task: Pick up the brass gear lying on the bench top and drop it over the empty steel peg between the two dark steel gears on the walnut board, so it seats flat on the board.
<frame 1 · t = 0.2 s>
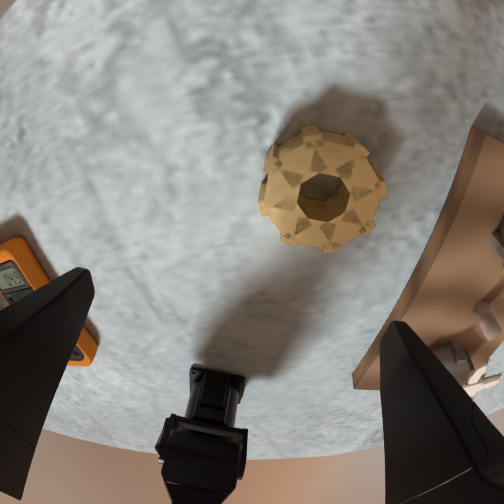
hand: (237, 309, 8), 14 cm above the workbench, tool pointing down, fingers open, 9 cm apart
gear board: (472, 292, 24), on the workbench
multimeter: (47, 298, 32), on the workbench
brass gear: (318, 179, 20), on the workbench
corner connector: (481, 371, 33), on the workbench
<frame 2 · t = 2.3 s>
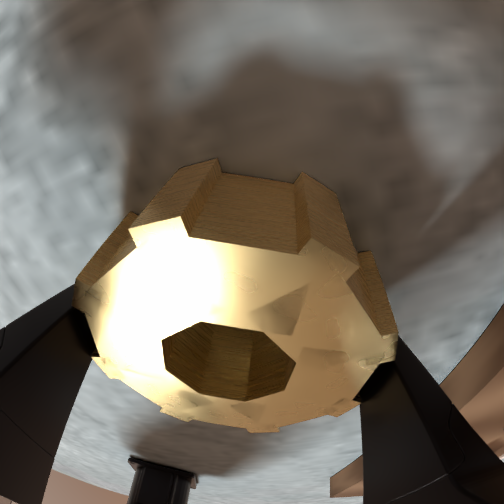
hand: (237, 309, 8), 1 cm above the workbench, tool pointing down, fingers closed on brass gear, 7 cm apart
brass gear: (241, 285, 9), on the workbench, touching gripper
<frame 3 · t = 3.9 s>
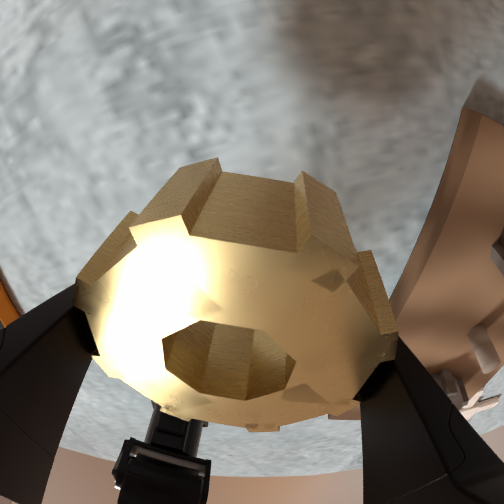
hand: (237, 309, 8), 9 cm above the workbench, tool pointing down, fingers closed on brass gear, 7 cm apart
gear board: (467, 313, 20), on the workbench
multimeter: (6, 312, 28), on the workbench
brass gear: (241, 284, 9), point 8 cm above the workbench, touching gripper
corner connector: (478, 393, 29), on the workbench
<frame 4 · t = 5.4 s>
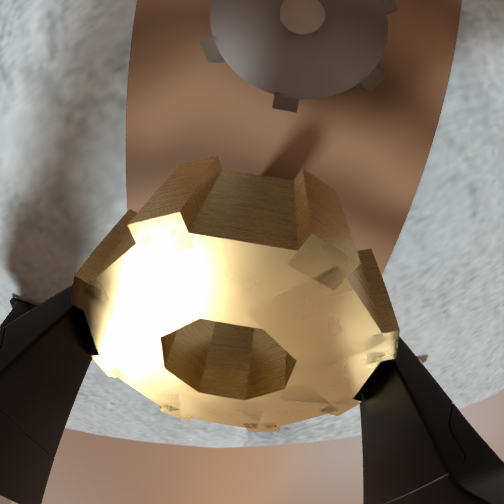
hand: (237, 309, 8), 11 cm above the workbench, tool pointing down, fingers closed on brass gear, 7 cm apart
gear board: (269, 178, 18), on the workbench
brass gear: (241, 283, 9), point 10 cm above the workbench, touching gripper
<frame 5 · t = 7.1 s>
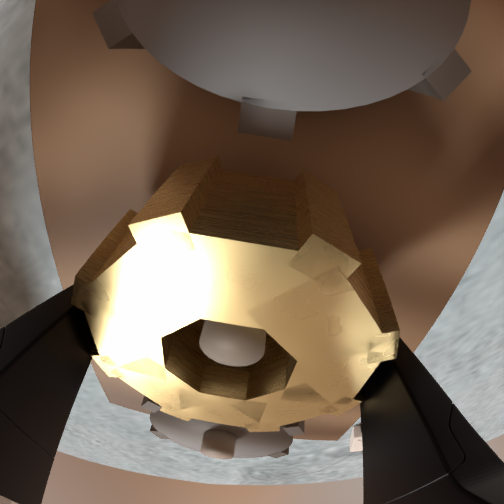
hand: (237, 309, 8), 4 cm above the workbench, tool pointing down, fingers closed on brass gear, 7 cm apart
gear board: (252, 231, 12), on the workbench
brass gear: (241, 283, 9), point 3 cm above the workbench, touching gripper
corner connector: (400, 410, 21), on the workbench
when the fingers open (4 cm above the workbench, at t = 8.4 s): brass gear stays where it is, resting on gear board.
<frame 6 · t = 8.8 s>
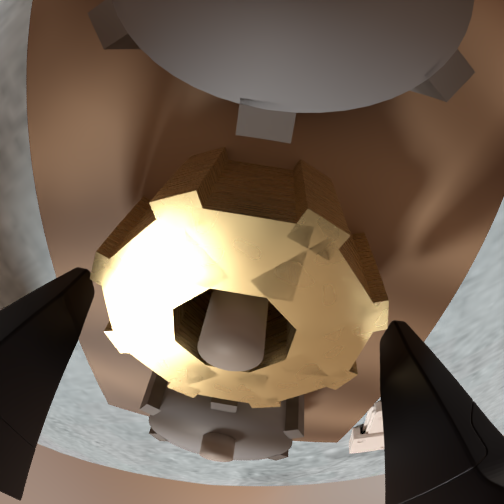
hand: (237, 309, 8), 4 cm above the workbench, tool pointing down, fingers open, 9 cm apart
gear board: (252, 234, 12), on the workbench
brass gear: (245, 265, 10), point 2 cm above the workbench, touching gear board
corner connector: (400, 411, 20), on the workbench
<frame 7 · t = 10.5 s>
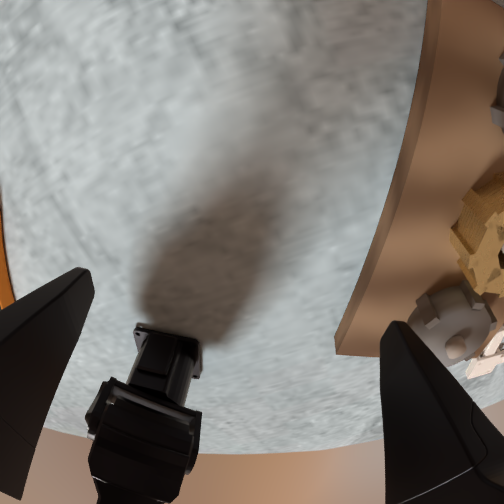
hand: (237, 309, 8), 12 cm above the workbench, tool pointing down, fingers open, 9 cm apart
gear board: (481, 211, 18), on the workbench
brass gear: (494, 225, 16), point 2 cm above the workbench, touching gear board
corner connector: (499, 340, 26), on the workbench
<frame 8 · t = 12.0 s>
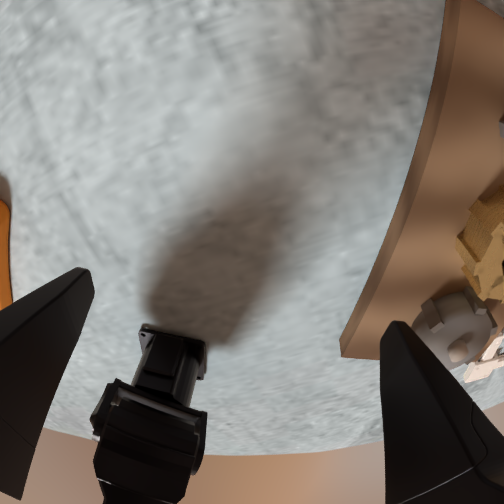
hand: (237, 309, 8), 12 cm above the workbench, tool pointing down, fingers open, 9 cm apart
gear board: (485, 220, 18), on the workbench
brass gear: (498, 234, 17), point 2 cm above the workbench, touching gear board
corner connector: (496, 345, 27), on the workbench
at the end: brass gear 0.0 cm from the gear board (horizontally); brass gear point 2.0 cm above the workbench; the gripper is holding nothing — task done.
